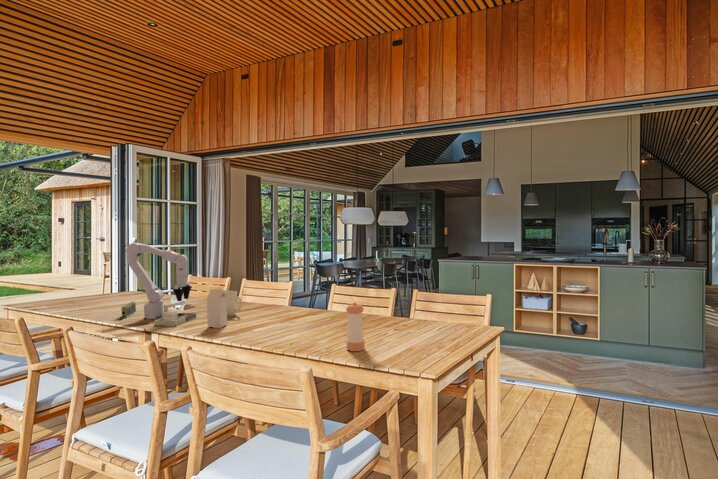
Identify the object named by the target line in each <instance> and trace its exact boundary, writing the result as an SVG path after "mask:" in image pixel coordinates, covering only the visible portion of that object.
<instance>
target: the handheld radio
mask: <svg viewBox="0 0 718 479" xmlns="http://www.w3.org/2000/svg"><path fill="white" fill-rule="evenodd" d="M136 305H137V304H136V301H130V302H129V303H126V304H124V306H122V307H121V308H120V309H121V317H119V319H120V318H123V319H125V318H124V317H127V316H129V315H130V316H132V315H134V314H135V313H137V306H136ZM131 314H132V315H131ZM130 316H129V317H130ZM127 318H128V317H127Z"/></svg>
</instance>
